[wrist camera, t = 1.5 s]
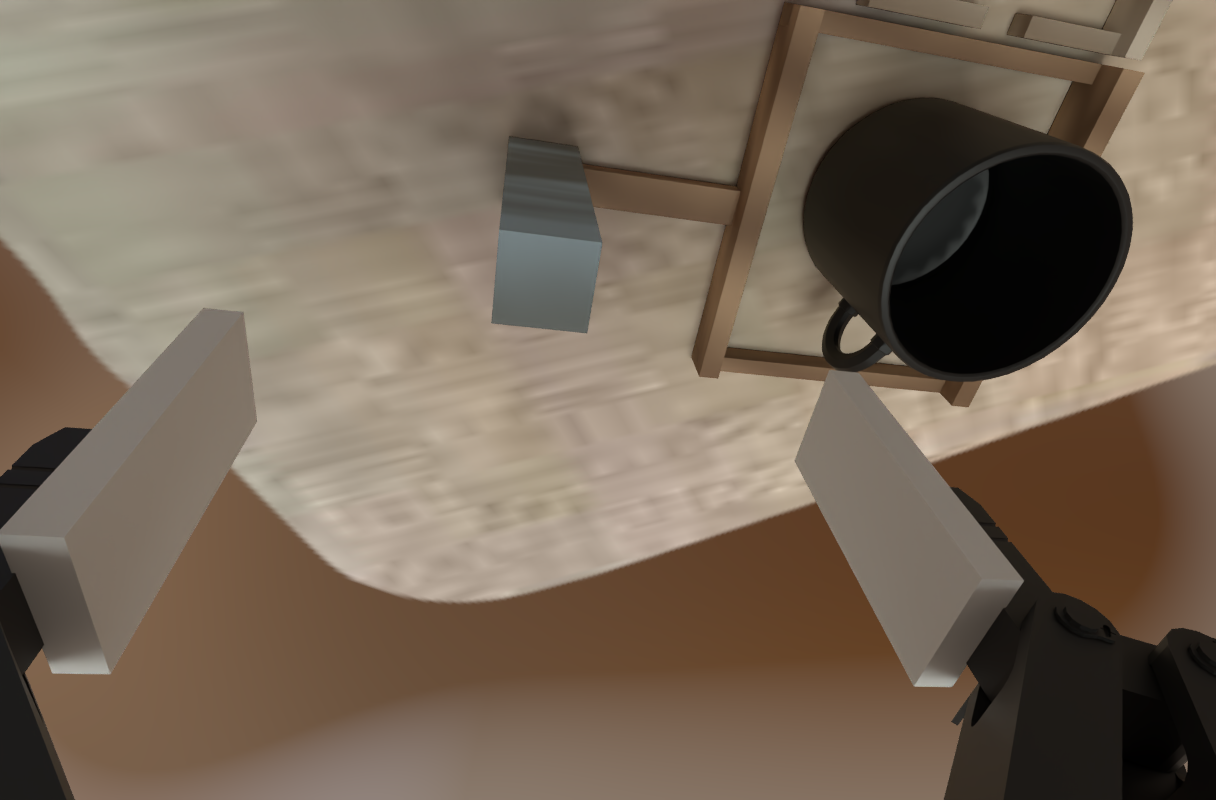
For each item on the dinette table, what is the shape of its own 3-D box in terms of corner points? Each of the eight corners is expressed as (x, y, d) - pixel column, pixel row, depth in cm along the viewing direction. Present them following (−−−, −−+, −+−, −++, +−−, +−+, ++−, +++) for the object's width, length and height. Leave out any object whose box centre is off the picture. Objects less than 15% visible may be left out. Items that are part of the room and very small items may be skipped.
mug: (727, 274, 34) (782, 365, 27) (903, 50, 29) (1032, 83, 22) (857, 359, 38) (939, 460, 30) (1034, 171, 33) (1185, 236, 25)
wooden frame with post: (525, -49, 26) (523, -51, 16) (1102, 64, 31) (1382, 119, 21) (492, 336, 35) (477, 491, 25) (945, 382, 39) (1087, 530, 29)
